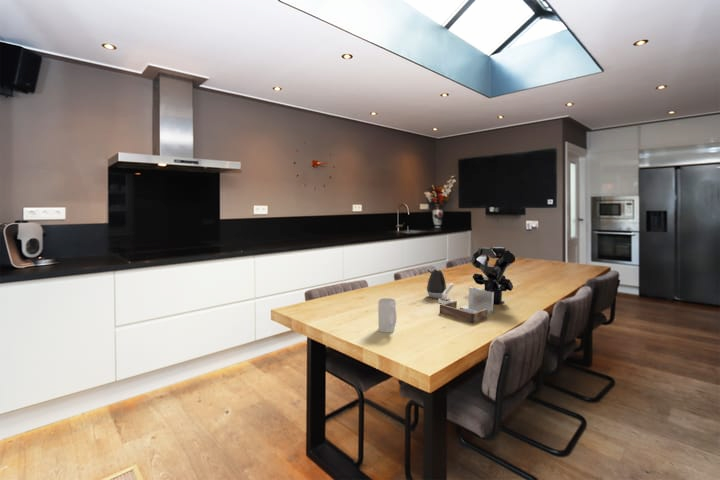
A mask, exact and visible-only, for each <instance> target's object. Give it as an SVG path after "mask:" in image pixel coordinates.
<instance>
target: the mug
mask: <svg viewBox="0 0 720 480" xmlns="http://www.w3.org/2000/svg"><path fill="white" fill-rule="evenodd" d="M377 300H378V305H377V306H378V307H377V308H378V309H377V310H378V311H377V312H378V316H377V317H378V322H377V323H378V331H379V332H380V333H386V334H390V333H393V332H395V327H396V324H397V319H398V318H397V308H396V305H397V304H396V303H397V301H396V299H394V298H390V297H389V298H388V297H385V298H379V299H377Z"/></svg>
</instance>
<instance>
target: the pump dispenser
mask: <svg viewBox="0 0 720 480" xmlns="http://www.w3.org/2000/svg"><path fill="white" fill-rule="evenodd" d="M427 272H428V273H430V275H429V278H428V281H427V285H426V292H427V294H428V296H429V297H430V298H432V299H437V300H438V299H439V298H443V297H442V293H443V292H444V291H445V290H446V288H447V281H446V279H445V275H444V273H443V271H442V270H441V269H438V268H435V269H433V270H431V269H427Z"/></svg>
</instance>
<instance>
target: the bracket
mask: <svg viewBox="0 0 720 480" xmlns="http://www.w3.org/2000/svg"><path fill="white" fill-rule="evenodd" d="M493 300H494V292H492V291H487V290H484V289H483V288H479V287H478V288H477V287H473V286H469V288H468V304H467V305H464V306H459V309H460V310H464V311H468V312H471V313H473V312H477V311H480V310H483V309H488V315H492V314H493V313H494V303H493Z"/></svg>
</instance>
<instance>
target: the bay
mask: <svg viewBox="0 0 720 480" xmlns="http://www.w3.org/2000/svg"><path fill="white" fill-rule="evenodd" d="M457 302H458V301H457V300H452V302H448V303H445V304H439V314H441V315H443V314H444V315H443V316H448V317H450V318H454V319H457V320H461V321H464V322H468V323H471V324H475V323H478V322H481V321H484V320H486V319H488V309H483V310H480V311H477V312H473V313H471V312H468V311H464V310H460V308H457V307H458V306H457V305H458V303H457Z"/></svg>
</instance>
